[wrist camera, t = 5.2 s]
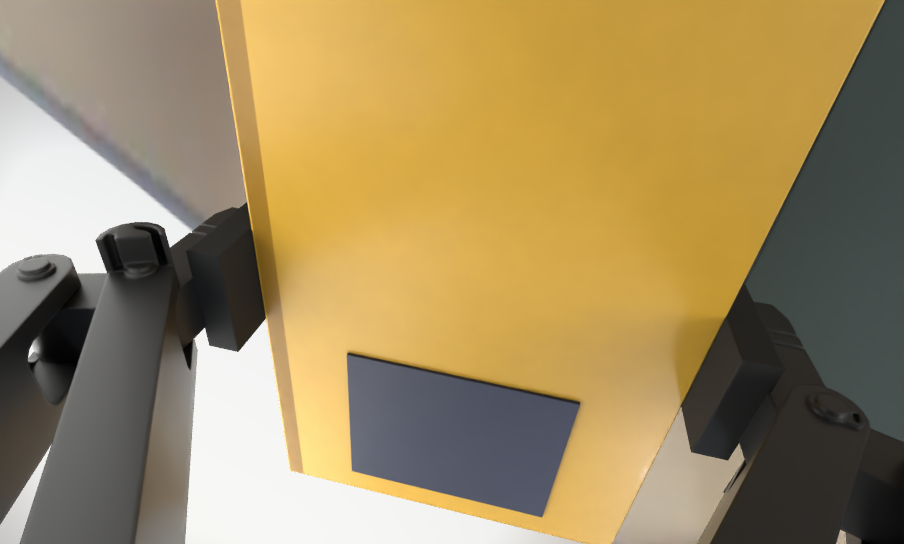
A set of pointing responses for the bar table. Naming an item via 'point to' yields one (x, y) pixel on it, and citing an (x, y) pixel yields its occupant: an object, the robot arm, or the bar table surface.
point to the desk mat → (850, 236)
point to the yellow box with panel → (513, 227)
